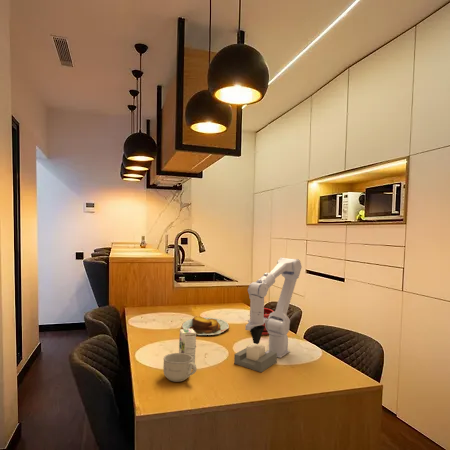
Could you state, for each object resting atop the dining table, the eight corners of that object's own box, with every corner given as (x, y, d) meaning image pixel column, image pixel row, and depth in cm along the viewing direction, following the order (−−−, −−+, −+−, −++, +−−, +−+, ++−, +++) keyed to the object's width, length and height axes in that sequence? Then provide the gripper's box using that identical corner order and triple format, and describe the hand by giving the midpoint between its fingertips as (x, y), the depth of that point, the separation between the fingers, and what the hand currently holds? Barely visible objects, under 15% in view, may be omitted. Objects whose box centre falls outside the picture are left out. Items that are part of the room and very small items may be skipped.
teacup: (157, 377, 126) (157, 356, 126) (180, 369, 133) (181, 349, 133) (179, 391, 116) (180, 368, 116) (203, 381, 123) (204, 360, 123)
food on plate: (235, 326, 191) (235, 314, 191) (218, 340, 168) (218, 327, 168) (194, 320, 201) (194, 309, 201) (172, 333, 177) (173, 320, 177)
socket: (250, 354, 150) (250, 345, 150) (276, 362, 143) (276, 352, 143) (234, 363, 140) (234, 354, 140) (261, 372, 132) (261, 362, 132)
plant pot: (244, 331, 181) (244, 309, 181) (260, 327, 190) (261, 306, 190) (262, 338, 172) (263, 315, 172) (278, 333, 180) (279, 311, 180)
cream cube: (252, 357, 145) (252, 342, 145) (264, 361, 142) (264, 346, 142) (246, 361, 141) (246, 346, 141) (258, 365, 138) (258, 349, 138)
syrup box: (178, 364, 138) (178, 329, 138) (191, 362, 140) (192, 327, 140) (181, 370, 132) (182, 333, 132) (195, 368, 135) (196, 332, 134)
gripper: (257, 306, 149) (256, 336, 149) (239, 312, 138) (238, 345, 138) (271, 308, 145) (270, 340, 145) (254, 316, 133) (253, 349, 134)
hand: (256, 343), depth 141 cm, fingers closed
